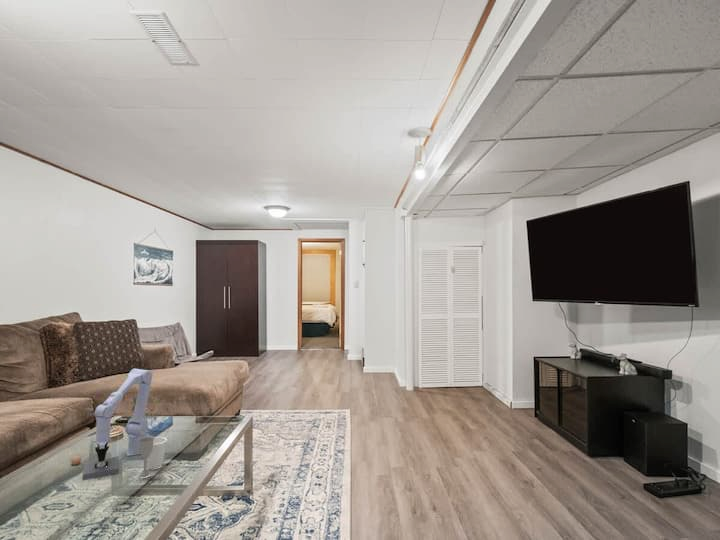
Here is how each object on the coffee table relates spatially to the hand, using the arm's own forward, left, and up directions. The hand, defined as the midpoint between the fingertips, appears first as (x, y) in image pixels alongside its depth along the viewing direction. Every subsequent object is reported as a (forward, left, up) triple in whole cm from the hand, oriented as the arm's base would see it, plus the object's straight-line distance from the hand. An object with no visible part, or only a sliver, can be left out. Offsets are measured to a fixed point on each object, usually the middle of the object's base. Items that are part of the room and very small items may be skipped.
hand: (101, 457), depth 197 cm
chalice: (-18, +15, -6) cm, 24 cm away
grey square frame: (0, 0, -6) cm, 6 cm away
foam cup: (-23, +7, -6) cm, 25 cm away
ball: (+11, -12, -4) cm, 17 cm away
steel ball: (0, 0, -4) cm, 4 cm away
